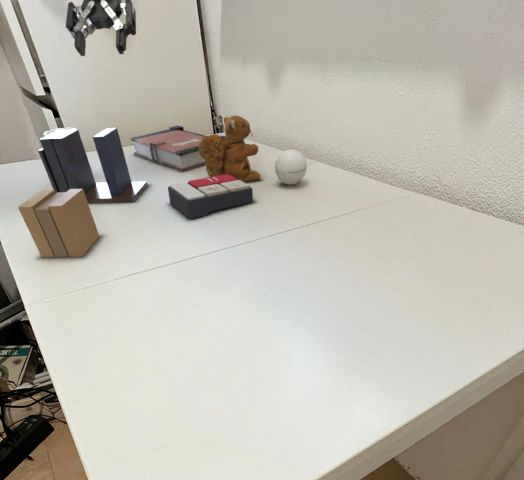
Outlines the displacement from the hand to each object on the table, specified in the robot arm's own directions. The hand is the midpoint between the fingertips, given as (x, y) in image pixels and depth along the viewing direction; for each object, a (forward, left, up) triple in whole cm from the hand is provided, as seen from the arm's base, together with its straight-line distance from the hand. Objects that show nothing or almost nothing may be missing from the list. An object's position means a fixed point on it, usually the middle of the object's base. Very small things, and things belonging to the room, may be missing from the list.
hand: (100, 52), depth 80 cm
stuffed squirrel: (+25, -5, -26) cm, 36 cm away
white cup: (-18, +12, -26) cm, 34 cm away
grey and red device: (+20, -20, -26) cm, 39 cm away
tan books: (-6, -36, -26) cm, 45 cm away
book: (+11, +19, -26) cm, 34 cm away
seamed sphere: (+40, -13, -26) cm, 49 cm away
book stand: (-6, -9, -26) cm, 28 cm away
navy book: (-1, -9, -25) cm, 27 cm away
